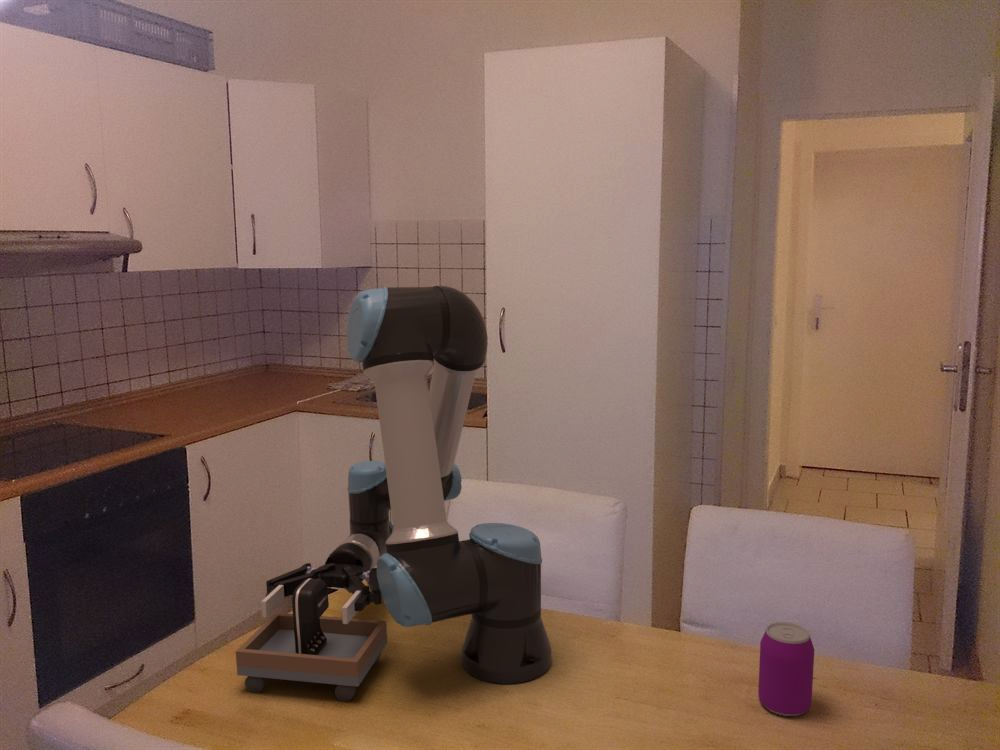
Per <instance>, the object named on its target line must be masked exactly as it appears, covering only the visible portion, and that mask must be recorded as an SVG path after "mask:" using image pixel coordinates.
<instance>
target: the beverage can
mask: <svg viewBox="0 0 1000 750" xmlns="http://www.w3.org/2000/svg"><path fill="white" fill-rule="evenodd" d="M759 645H760V647H759V666H758V667H759V668H758V689H757V690H758V691H757V692H758V694H757V695H758V700H759V702H760V703H761V704H762V706H763V707H765V708H767V709H766V710H768V711H769V710H770V711H769V712H771V713H773V712H774V713H773V714H775V713H776V714H775V715H777V714H779V715H778V716H781V715H783V716H782V717H787V716H794V717H799V716H802V715H803V714H805V713H807V712H808V711H809V710H810V709H811V705H812V701H813V699H812V698H813V685H814V684H813V681H814V667H815V666H814V664H815V647H814V644H813V641H812V639H811V635H810V632H809V630H807V629H806V627H804V626H802V625H798V624H797V623H792V622H785V621H783V622H782V621H780V622H777V621H775V622H773V623H770V624H768V625H767V626H766V628H765V631H764V633H763V636H762V637H761V639H760V643H759ZM801 714H802V715H801ZM798 715H799V716H798Z"/></svg>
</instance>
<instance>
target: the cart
mask: <svg viewBox="0 0 1000 750" xmlns="http://www.w3.org/2000/svg"><path fill="white" fill-rule="evenodd" d="M320 626H321V629H322V632H323V633H324V635H325V637H326V639H327V641H326V643H325V645H324V646H323V647H322V649H321V650H320V651H319V652H318V653H317V655H308V654H297V653H296V651H295V635H294V624H293V613H289V612H288V613H286V612H277V611H276V612H274V614H272V615H271V616H270V617H269V618H268V619H267V620H266V621H265V622H264V623H263V624H262V625H261V626H260V627H259V628H258V629H257V630H256V631H255V632H254V633H253V634H252V635H251V636H250V637H249V638H247V640H246V641H245V642H244V643H243V644H242V645H240V647H239V648H238V649H236V650H235V658H236V659H235V661H236V662H235V663H236V676H243V677H246V678H245V681H244V685H245V688H246V689H247V690H248V691H249V692H250V693H254V694H257V693H259V692H261V691H262V690H263V689H264V688H265V687H266V684H267V679H275V680H286V681H295V682H297V681H298V682H305V683H316V684H328V685H336V686H335V688H334V695H335V696H336V699H338V700H339V701H340V702H343V703H347V702H351V700H352V699H353V698H354V696H355V695H356V694H357V693H356V692H357V688H356V687H359V686H360V684H361V683H362V681H363V680H364V679H365V677H366V676H367V674H368V673H369V671H370V670H371V668H372V666H373V665H374V664H375V663H376V662H378V660H379V658H380V657H381V654H382V652H383V651H384V649H385V647H386V646H387V645H388V631H387V630H388V629H387V620H376V619H365V618H364V619H363V618H362V619H361V618H354V617H353V618H352V619H351V620H350V621H349V623H348V624H343V618H342V617H338V616H326V615H325V616H324V615H321V617H320Z"/></svg>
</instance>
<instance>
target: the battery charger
mask: <svg viewBox="0 0 1000 750" xmlns="http://www.w3.org/2000/svg"><path fill="white" fill-rule="evenodd" d="M291 596H292V597H291V599H292V600H291V602H292V603H291V605H292V614H293V624H294V635H295V651H296V653H297V654H308V655H317V653H318V652H319V651H320V650H321V649H322V647H323V646H324V645H325V643H326V641H327V639H326V637H325V635H324V633H323V632H322V629H321V626H320V617H321V616H323V614H324V613H325V612H326V611H327V609H328V608H329V604H330V602H329V593H328V587H327V585H326V583H325V581H323V580H319V579H312V578H309V579H305V580H304V581H303V582H302V583H301V584H300V585H299V586H298V587H297V588H296V589H295V590H294V593H293V595H291Z"/></svg>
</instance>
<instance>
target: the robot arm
mask: <svg viewBox="0 0 1000 750" xmlns="http://www.w3.org/2000/svg"><path fill="white" fill-rule="evenodd" d="M347 321H348V322H347V330H346V332H347V334H346V335H347V336H346V337H347V348H348V352H349V357H350V359H351V360H352V361H354V362H356V363H362V370H363V375H364V376H366V377H367V378H368V379H370V380H371V381H372V382H373V384H374V391H375V396H376V403H377V413H378V420H379V427H380V434H381V435H380V436H381V444H382V451H383V457H384V462H383V461H380V460H364V461H359V462H356V463H353V464H352V465H351V466H350V467H349V469H348V474H347V475H348V476H347V491H348V508H349V511H348V512H349V535H348V536H347V537H346V539H344V540H343V542H341V543H340V544H339V545H338V546H337V547H336V548H335V549H334V550H333V551H332V552H331V553H330V554H329V555H328V557H327V558H326V560H325V562H324V564H323V565H321V566H318V568H315V567H312V563H309V562H306V563H304V564H303V565H302V566H300V567H298V568H295V569H293V570H290V571H288V572H285V573H282V574H280V575H278V576H274V577H273V578H270V579H267V581H266V582H265V583H266V584H265V585H266V594H265V597H264V598H263V599H262V600H261V604H260V605H261V617H262V618H264V619H265V618H266V619H267V618H268V617H269V616H270V615H271V614H272V613H273V612H274V611H275V610H276V609H278V607H279V606H281V604H282V603H284V601H285V598H288V597H289V596H290V597H291V596H293V593H294V590H295V589H296V588H297V587H298V586H299V585H300V584H301V583H302V582H303V581H304V580H305V579H309V578H312V579H319V580H323V581H325V583H326V585H327V588H328V589H332V588H337V589H344V590H345V591H347V592H348V593H349V594H352V595H351V596H350V598H349V599H348V600H347V601H346V602H345V604H344V605H343V606H342V607H341V613H342V615H341V616H342V617H341V618H343V624H348V623H349V621H350V620H351V619H352V618H353V619H354V618H355V616H356V614H357V613H358V612H362V611H363V610H364V609H365V608H366V607H367V606H369V605H371V603H374V605H377V606H378V605H382V602H383V603H384V606H385V607H386V609H387V611H388V613H389V614H390V616H391V618H392V619H393V620H394V621H395V622H396V624H398V625H399V626H401V627H403V628H404V627H405V628H411V627H417V626H422V625H425V626H430V625H432V623H437V622H442V621H444V620H445V621H446V620H451V619H454V618H458V617H463V616H469V615H471V619H470V622H469V626H468V628H467V631H466V634H465V638H464V640H463V645H462V648H461V664H462V667H463V669H464V671H466V672H467V673H468V674H469V675H471V676H472V677H473V678H476V679H478V680H481V681H484V682H489V683H493V684H502V685H503V684H509V685H511V684H520V683H525V682H529V681H533V680H535V679H538V677H540V676H541V677H542V675H544V674H546V672H548V670H549V669H550V668H551V666H552V646H551V643H550V639H549V637H548V634H547V631H546V627H545V625H544V622H543V619H542V563H543V559H542V551H541V548H542V547H541V541H540V539H539V537H538V536H537V535H536V534H535V533H534V532H533V531H531V530H529V529H527V528H525V527H522V526H518V525H515V524H510V523H509V524H508V523H502V522H484V523H479V524H476V525H475V526H473V527H471V529H470V531H469V535H468V536H469V539H465V540H461V541H460V537H459V532H458V531H459V530H458V529H456V528H455V527H454V526H452V524H450V523H449V522H448V520H447V513H446V512H447V511H446V507H445V506H446V505H445V502H446V501H451V500H455V499H457V498H458V497H459V496H460V494H461V491H462V481H463V480H462V479H463V478H462V474H461V471H460V468H459V466H457V464H456V463H455V462H456V458H457V457H456V456H457V453H458V452H457V451H458V448H459V445H460V441H461V440H460V439H461V438H462V437H461V436H462V433H463V428H464V423H465V419H466V415H467V411H468V406H469V402H470V399H471V395H472V389H473V385H474V381H475V377H476V373H477V371H478V370H480V369H481V368H482V367H483V366H484V364H485V362H486V361H485V360H486V357H487V352H488V345H489V343H488V340H489V339H488V331H487V326H486V323H485V320H484V317H483V315H482V313H481V311H480V309H479V308H478V306H477V305H476V303H475V302H474V300H472V299H471V298H470V297H469V296H468V295H467V294H465V293H464V292H462V291H460V290H459V289H457V288H453V287H451V286H446V285H435V286H410V287H409V286H403V287H401V286H399V287H398V286H397V287H395V286H394V287H392V286H391V287H386V286H383V287H381V288H372V289H365V290H361V291H360V292H358V293H357V294H356V296H355V297H354V299H353V301H352V304H351V306H350V310H349V315H348V320H347ZM432 369H433V371H432V374H431V375H432V376H431V381H430V385H429V383H428V382H429V381H428V374H429V373H430V371H431V370H432ZM429 386H430V387H429ZM390 511H391V519H392V521H390ZM364 580H365V582H366V583H367V585H366V584H365V583H364V582H363V581H364Z"/></svg>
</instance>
